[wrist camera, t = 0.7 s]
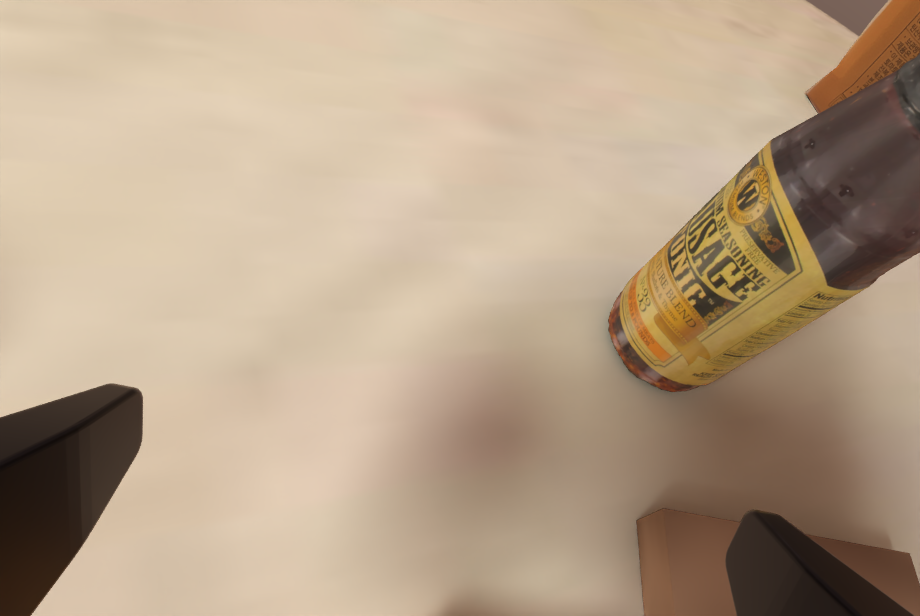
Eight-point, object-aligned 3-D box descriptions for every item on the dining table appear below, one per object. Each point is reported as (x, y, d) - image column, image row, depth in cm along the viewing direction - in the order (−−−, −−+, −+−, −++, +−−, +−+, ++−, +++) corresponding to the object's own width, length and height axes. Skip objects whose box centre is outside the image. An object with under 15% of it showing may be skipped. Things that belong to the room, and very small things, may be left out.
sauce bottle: (594, 282, 32) (948, -134, 16) (697, 304, 34) (1115, -57, 18) (608, 395, 28) (1079, 5, 13) (722, 415, 30) (1275, 86, 14)
